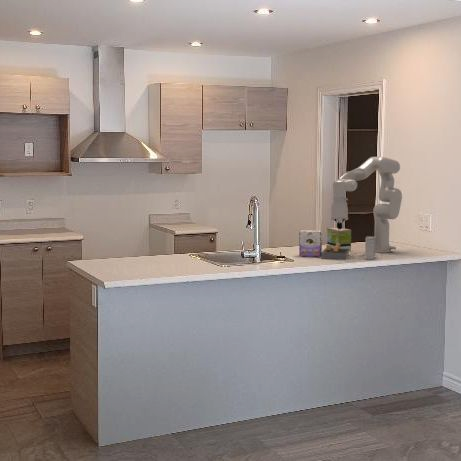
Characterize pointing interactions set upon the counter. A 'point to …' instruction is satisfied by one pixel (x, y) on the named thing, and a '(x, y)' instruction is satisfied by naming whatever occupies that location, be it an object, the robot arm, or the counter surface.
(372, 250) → the junction box
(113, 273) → the counter surface
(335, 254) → the breaker panel
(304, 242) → the candy box
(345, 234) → the tea box
